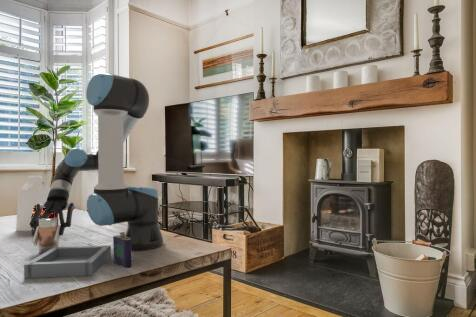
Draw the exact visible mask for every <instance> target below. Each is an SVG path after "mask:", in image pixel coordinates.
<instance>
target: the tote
mask: <svg viewBox="0 0 476 317" xmlns="http://www.w3.org/2000/svg"><path fill="white" fill-rule="evenodd" d="M111 248H112V245H109V244H108V245H86V246H85V245H84V246H83V245H82V246H59V247H54V248H52V249H50V250H48V251H47V252H45V253H41V254H40V255H38V256H37V257H34V258H33V259H30V261H28V262H26V263H24V264H23V275H24V276H23V278H24V279H44V278H46V279H47V277H50V278H66V277H65V276H75V277H93V276H94V275H93V274H94V273H97V272H98V271H99V269H101V267H102V266H104V265H105V263H107V261H109V260H110V259H111V257H112V249H111ZM92 275H93V276H92Z"/></svg>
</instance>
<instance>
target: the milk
mask: <svg viewBox="0 0 476 317" xmlns="http://www.w3.org/2000/svg"><path fill="white" fill-rule="evenodd" d="M50 188H51V186H49V185H48V184H47V183H46V182H45V181H44V178H43V176H42V175H37V176H36V175H29V176H28V178H27V181H26V182H25V183H24V185H23V186H22V187H21V188H20V189H19V190H18V193H17V203H16V204H17V206H16V208H17V209H16V223H15V224H16V225H15V226H16V227H15V231H16V232H20V231H21V232H32V231H31V230H32V228H31V226H30V222H31V216H32V212H33V210H34V209H33V208H34V206H35V205H37V204H45V203H46V201H47V198H48V194H49V192H50Z"/></svg>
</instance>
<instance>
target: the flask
mask: <svg viewBox="0 0 476 317" xmlns="http://www.w3.org/2000/svg"><path fill="white" fill-rule="evenodd" d="M125 234H126V231H122V232H119V235H117V234H115V235H113V236H112V239H113V241H112V242H113V243H112V244H113V257H112V259H113V264H114V265H117V266H120V267H122V268H124V269H131V268H132V267H133V262H132V261H133V260H132V250H131V239H130V238H129V237H126V235H125Z"/></svg>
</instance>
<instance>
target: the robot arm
mask: <svg viewBox="0 0 476 317" xmlns="http://www.w3.org/2000/svg"><path fill="white" fill-rule="evenodd" d="M85 94H86V95H85V96H86V100H87V103H88V104H89V105H91V106H93V107H92V108H93V113H95V115H96V116H97V134H98V135H97V138H98V139H97V143H98V145H97V148H98V149H97V151H96V152H92V153H91V152H90V153H89V152H86V151H85V150H84V149H81V148H79V147H74V148H71V149H70V150H68V152H67V153H66V154H65V156H64V157H63V160H62V162H59V163H58V164H57V166H56V169H55V170H54V171H55V173H54V176H53V180H52V183H51V185H50V192H49V194H48V198H47V201H46V203H45V204H43V205H40V204H37V205H36V211H35V213H34V215H33V217H32V219H31V222H30V226H31V228H32V229H33V231H32V232H31V234H32V236H33V239H32V241H31V242H32V244H33V245H34V246H37V245H38V244H39V219H43V218H48V217H49V216H50V215H51V214H53V213H54V214H58V220H59V224H58V227H57V231H56V234H55V238H54V242H55V244H58V242H59V241H60V237H61V236H63V235H64V232H65V229H66V228H70V227H71V226H72V218H73V211H74V210H75V205H74V203H73V202H70V203H68V202H69V198H70V194H71V190H72V186H73V182H74V179H75V178H76V176H77V175H78V173H79V172H82V171H83V172H84V171H87V172H88V171H98V172H97V173H98V174H97V176H98V183H97V184H96V185H95V186H94V187H93V193H91V194H89V195H88V197H87V200H86V210H87V214H88V216H89V218H90V220H91V221H92V222H93V223H94V224H95V225H97V226H100V227H101V226H103V227H105V226H113V225H117V224H123V223H127V229H126V231H125V232H126V233H125V235H126V237H129V238H130V239H131V251H145V250H152V249H156V248H159V247H161V246H163V244H164V238H163V234H162V232H161V228H160V225H159V193H158V189H156V188H154V187H145V186H144V187H143V186H142V187H141V186H128V185H127V184H126V183H125V182H124V178H125V177H124V172H125V171H124V170H125V169H124V168H125V167H124V166H125V165H124V162H125V161H124V157H125V156H124V143H125V142H126V140H127V138H128V137H129V135H130V133H131V132H132V130H133V129H134V128H135V126H136V124H137V122H138V120H141V119H143V117H144V116H145V115H146V113H147V110H148V108H149V105H150V95H149V92H148V89H147V87H146V86H145V84H144V83H143V82H141V81H139V80H138V79H135V78H129V77H125V76H121V75H118V74H117V75H116V74H113V73H106V72H98V73H95V74H94V75H93V76H92V77H91V78H90V80H89V81H88V83H87V87H86V91H85ZM43 208H46V209H45V211H44V213H43V214H42V215H41V211H43ZM66 208H67V213H66V220H65V217H64V212H63V211H64V210H65V209H66ZM40 215H41V217H40ZM39 217H40V218H39ZM59 243H60V242H59Z"/></svg>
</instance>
